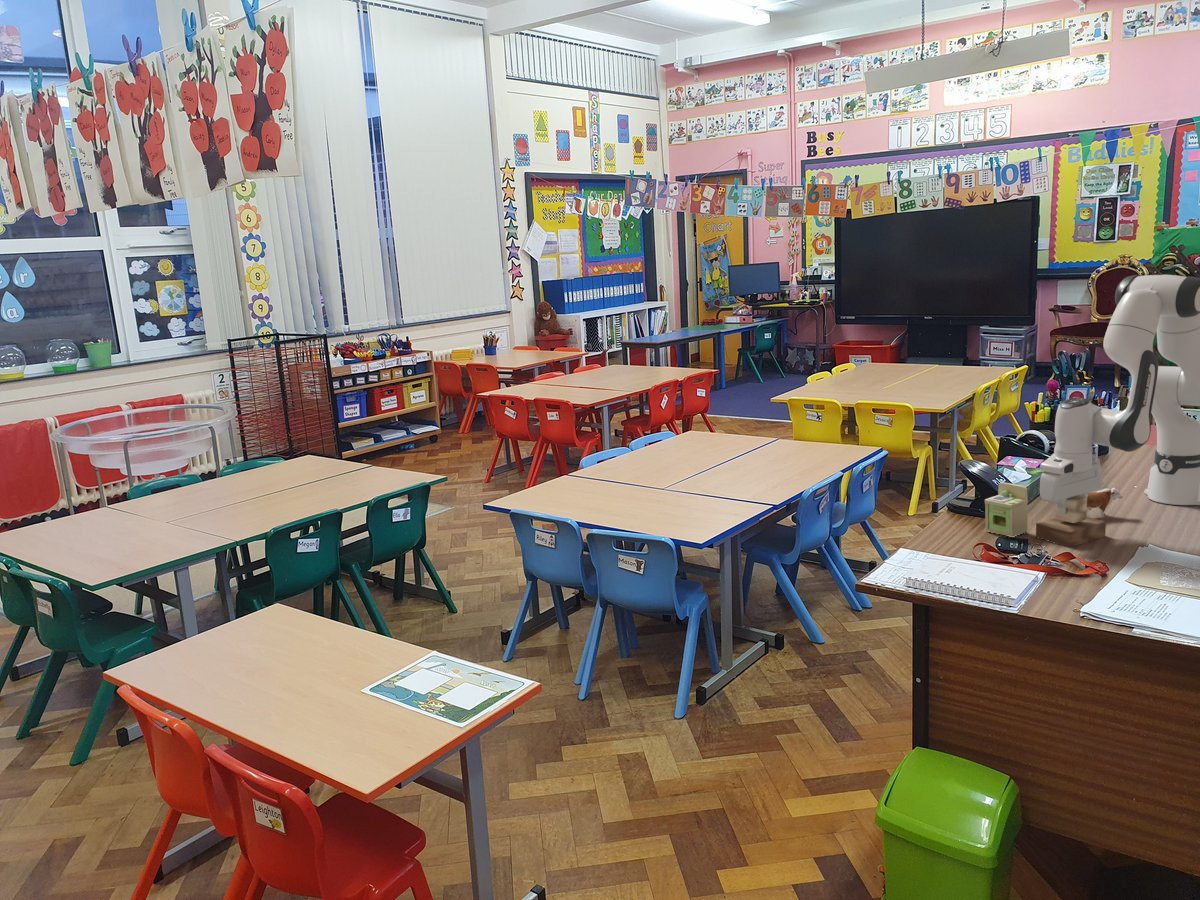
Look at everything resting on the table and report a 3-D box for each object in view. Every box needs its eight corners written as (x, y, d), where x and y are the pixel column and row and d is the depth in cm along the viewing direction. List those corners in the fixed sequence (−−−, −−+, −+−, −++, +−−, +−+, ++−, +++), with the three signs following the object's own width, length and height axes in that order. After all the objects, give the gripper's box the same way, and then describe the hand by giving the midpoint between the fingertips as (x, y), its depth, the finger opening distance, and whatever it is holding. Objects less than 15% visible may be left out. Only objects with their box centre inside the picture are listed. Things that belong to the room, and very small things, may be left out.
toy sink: (983, 532, 247) (983, 486, 244) (999, 526, 251) (1000, 481, 248) (1010, 539, 240) (1011, 492, 237) (1027, 532, 244) (1028, 486, 241)
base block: (1071, 527, 245) (1071, 513, 244) (1105, 535, 236) (1105, 521, 235) (1035, 537, 239) (1036, 523, 238) (1069, 547, 230) (1070, 532, 230)
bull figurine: (1124, 516, 250) (1125, 488, 248) (1075, 520, 250) (1076, 492, 249) (1115, 512, 254) (1116, 484, 252) (1067, 516, 255) (1068, 488, 253)
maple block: (1069, 515, 240) (1069, 493, 239) (1086, 519, 236) (1087, 497, 234) (1056, 518, 238) (1057, 497, 237) (1073, 523, 233) (1074, 501, 232)
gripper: (1088, 452, 240) (1086, 501, 243) (1035, 465, 232) (1034, 516, 235) (1110, 456, 235) (1108, 506, 238) (1057, 469, 226) (1056, 521, 229)
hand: (1071, 511), depth 236 cm, fingers closed on maple block, 5 cm apart
